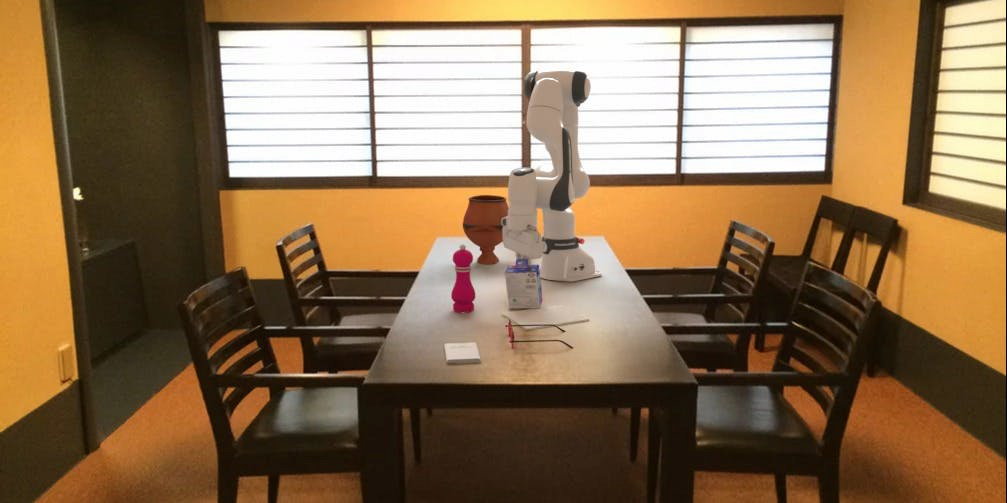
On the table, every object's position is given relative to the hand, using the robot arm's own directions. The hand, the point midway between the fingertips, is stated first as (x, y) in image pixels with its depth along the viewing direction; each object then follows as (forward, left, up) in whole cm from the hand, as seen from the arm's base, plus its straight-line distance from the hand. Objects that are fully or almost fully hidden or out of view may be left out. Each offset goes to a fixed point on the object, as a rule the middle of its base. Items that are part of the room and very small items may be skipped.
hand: (522, 267), depth 228 cm
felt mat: (0, +14, -12) cm, 19 cm away
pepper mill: (+18, -4, -12) cm, 22 cm away
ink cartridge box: (0, +2, -11) cm, 11 cm away
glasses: (+11, +31, -13) cm, 35 cm away
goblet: (-15, -60, -12) cm, 63 cm away
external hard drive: (+33, +32, -13) cm, 48 cm away
